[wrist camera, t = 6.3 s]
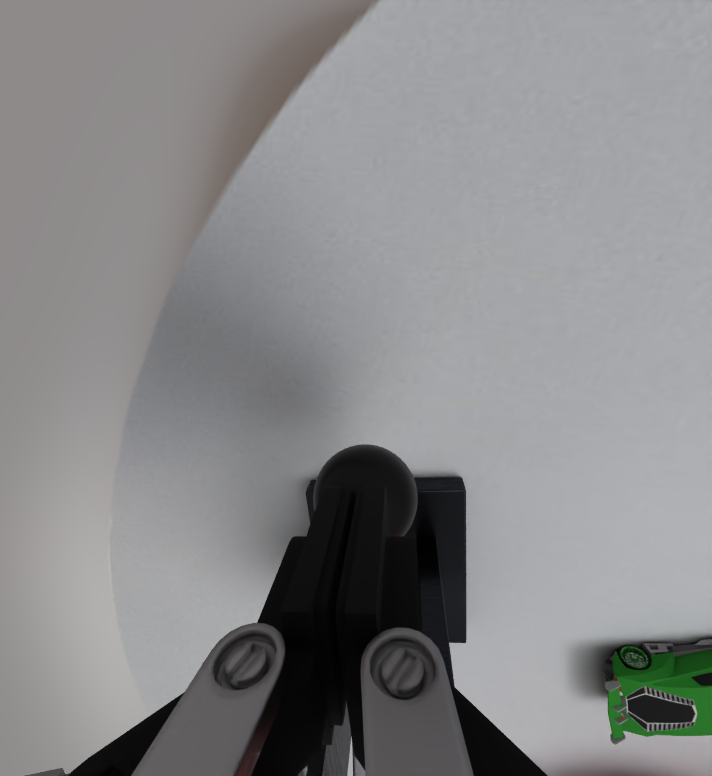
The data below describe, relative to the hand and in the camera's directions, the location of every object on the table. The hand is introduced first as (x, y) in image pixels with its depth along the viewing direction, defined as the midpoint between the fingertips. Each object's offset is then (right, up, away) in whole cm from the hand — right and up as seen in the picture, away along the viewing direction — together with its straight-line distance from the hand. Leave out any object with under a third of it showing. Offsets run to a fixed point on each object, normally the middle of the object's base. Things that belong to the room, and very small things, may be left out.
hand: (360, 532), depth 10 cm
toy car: (+19, -12, +12) cm, 25 cm away
